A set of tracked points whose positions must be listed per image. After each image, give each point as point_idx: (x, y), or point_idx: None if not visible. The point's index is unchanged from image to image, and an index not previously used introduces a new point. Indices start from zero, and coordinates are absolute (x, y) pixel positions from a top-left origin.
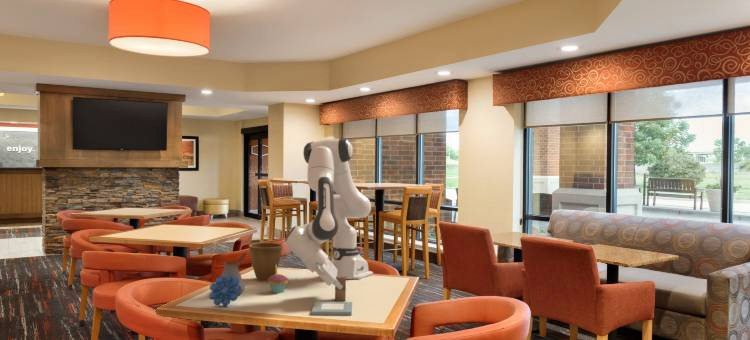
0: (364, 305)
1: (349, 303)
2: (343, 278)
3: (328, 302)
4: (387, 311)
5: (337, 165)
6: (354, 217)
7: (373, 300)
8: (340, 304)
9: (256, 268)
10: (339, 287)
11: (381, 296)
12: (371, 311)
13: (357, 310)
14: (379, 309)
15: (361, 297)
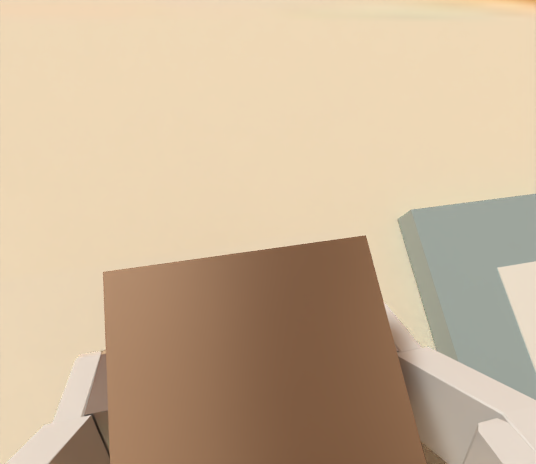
0: (373, 132)
1: (465, 224)
2: (374, 287)
3: None
4: (463, 4)
5: None
6: None
7: (207, 81)
8: (532, 293)
9: None
10: None
11: (59, 32)
12: (500, 82)
13: (516, 164)
14: (438, 42)
15: (109, 177)
